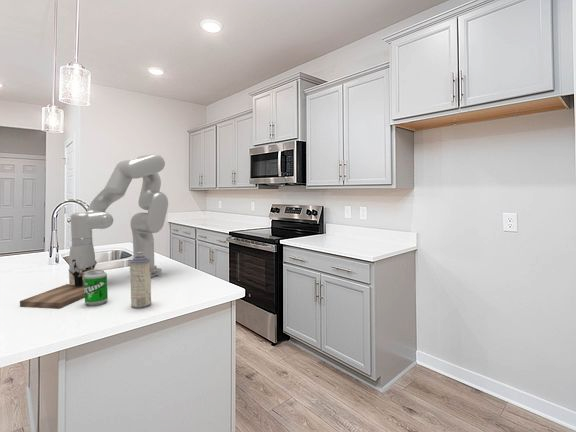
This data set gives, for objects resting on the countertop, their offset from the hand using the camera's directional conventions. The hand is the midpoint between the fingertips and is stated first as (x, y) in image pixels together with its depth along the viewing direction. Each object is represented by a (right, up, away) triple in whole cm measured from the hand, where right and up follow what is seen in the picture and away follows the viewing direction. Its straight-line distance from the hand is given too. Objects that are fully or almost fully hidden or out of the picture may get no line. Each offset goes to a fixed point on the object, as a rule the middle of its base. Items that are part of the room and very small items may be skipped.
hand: (84, 283), depth 140 cm
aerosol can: (+33, -5, -19) cm, 38 cm away
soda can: (+15, -4, -17) cm, 23 cm away
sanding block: (0, -1, 0) cm, 1 cm away
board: (-1, -4, -11) cm, 11 cm away
